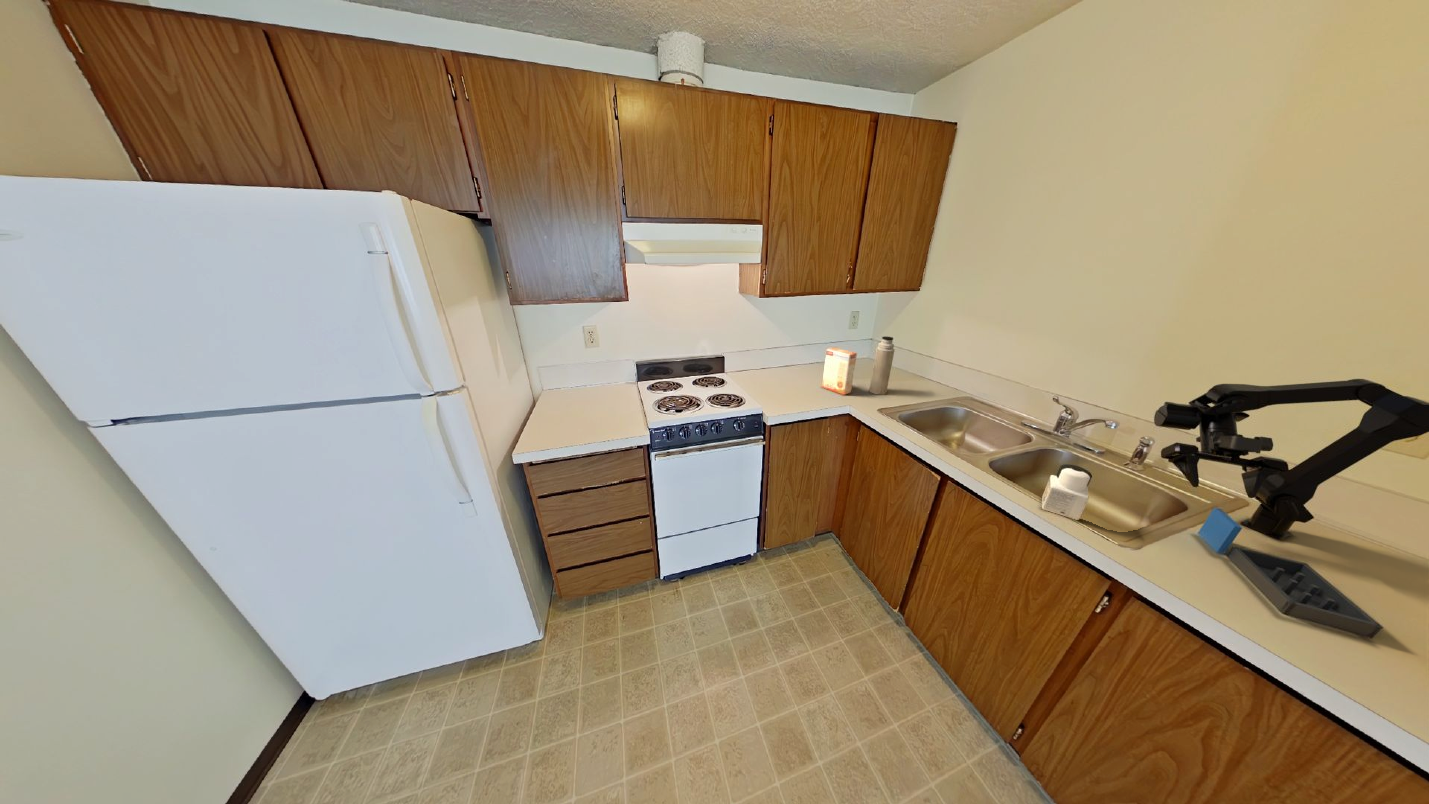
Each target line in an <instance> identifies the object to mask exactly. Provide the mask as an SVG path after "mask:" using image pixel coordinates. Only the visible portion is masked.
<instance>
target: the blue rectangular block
mask: <svg viewBox="0 0 1429 804" xmlns="http://www.w3.org/2000/svg"><path fill="white" fill-rule="evenodd" d="M1242 529H1243V527H1242V526H1241V525H1239V523H1237V522H1236V520H1234V519H1233V518H1232V516H1231V517H1230V516H1229V514H1227V513H1226V512H1225V511H1224V510H1223V509H1222V508H1219V507H1213V509H1212V510H1211V512H1210V513H1209V515H1208V516H1207V518H1206V520H1205V521H1204V523H1202V525H1201V527H1200V529H1199V530H1198V532H1197V534H1198V536H1199V537H1200V538H1201V539H1202V540H1203V541H1204V542H1205V543H1206V544H1207V545H1208V546H1209V547H1210V549H1212V550H1213V551H1214V552H1215V554H1218V555H1225V553H1226V552H1227V551H1228V549H1229V548H1230V546H1231V545H1232V544H1233V542H1234V540H1235V539H1236V538H1237V536H1238V535H1239V533H1240V532H1241V531H1242Z"/></svg>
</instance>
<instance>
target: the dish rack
mask: <svg viewBox="0 0 1429 804" xmlns="http://www.w3.org/2000/svg"><path fill="white" fill-rule="evenodd" d="M1225 557H1226V558H1227V559H1228V560H1229V561H1230V562H1231V563H1232V564H1233V565H1234V566H1235V568H1237V569H1238V570H1239V571H1240V572H1241V573H1242V575H1244V576H1245V578H1246V579H1248V581H1250V582H1251V584H1252V585H1253V586H1254V587H1255V588H1256V589H1257V590H1258V591H1259V592H1260V593H1261V594H1262V595H1263V596H1264V597H1265V598H1266V599H1267V600H1268V601H1269V602H1270V603H1271V604H1272V606H1274V608H1276V610H1277V611H1279V613H1281V614H1282V615H1285V616H1289V617H1292V618H1296V619H1299V620H1303V621H1306V622H1309V623H1314V624H1317V625H1321V626H1325V627H1329V628H1331V629H1336V630H1340V631H1342V632H1347V633H1350V634H1354V635H1357V636H1361V637H1364V638H1368V639H1374V638H1375V637H1376V636H1377V635H1378V634H1379V633H1380V632H1381V631H1383V629H1384V627H1383V626H1382V625H1381V624H1380V623H1379V622H1377V620H1375V619H1374V618H1373V617H1371V615H1369V614H1368V613H1367V612H1365V611H1364V610H1363V609H1362V608H1361V607H1360V606H1358V605H1357V604H1356V603H1355V602H1353V601H1352V600H1351V599H1350V598H1349V597H1348V596H1347V595H1345V594H1344V593H1343V592H1342V591H1341V590H1339V589H1338V588H1337V587H1336V586H1335V585H1333V584H1332V582H1330V581H1328V580H1327V578H1325V577H1324V576H1322V574H1320V573H1319V572H1318V571H1317V570H1315V569H1314V568H1313V567H1312V566H1311V565H1309V564H1308V563H1307V562H1303V561H1299V560H1298V561H1297V560H1294V559H1290V558H1287V557H1282V556H1277V555H1273V554H1268V553H1264V552H1261V551H1256V550H1251V549H1248V548H1244V547H1239V546H1235V545H1232V546H1231V548H1230V549H1229V551H1227V554H1226V555H1225Z"/></svg>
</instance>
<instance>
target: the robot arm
mask: <svg viewBox="0 0 1429 804" xmlns="http://www.w3.org/2000/svg"><path fill="white" fill-rule="evenodd" d="M1348 401H1359V402H1360V403H1363V404H1365V405H1367V406H1369V407H1370V408H1369V409H1368V410H1366V411H1365V412H1364V413H1363V416H1362V417H1361V419H1360V422H1359V424H1358V426H1357V427H1356V428H1353V429H1351V431H1348V432H1347V433H1345V434H1344V435H1343V436H1341V437H1339V438H1338V439H1336V440H1334V441H1333V442H1332V443H1330V444H1328V445H1327V446H1325V447H1323V448H1322V449H1321V450H1319V451H1317V452H1316V453H1313V455H1311V456H1309V457H1308V458H1306V459H1305V460H1303V461H1301V462H1300V463H1298V464H1297V465H1295V466H1293V467H1292V468H1290V469H1289V463H1288V462H1287V461H1285V459H1284V460H1283V459H1281V458H1276V457H1270V456H1269V457H1268V456H1262V455H1260V456H1257V457H1253V458H1250V459H1249V458H1244V457H1245V456H1248V455H1249V454H1250V453H1255V454H1261V452H1271V451H1272V450H1273V449H1274V441H1273V438H1272V437H1267V436H1254V437H1253V438H1252V437H1245V436H1244V434H1238V426H1237V423H1239V422H1242V421H1244V420H1246V419H1247V418H1249V417H1250V416H1251V415H1250V414H1249V413H1247V412H1249V411H1250V412H1251V411H1257V410H1260V409H1264V408H1266V407H1269V406H1277V405H1290V404H1310V403H1311V404H1313V403H1328V402H1329V403H1331V402H1348ZM1209 404H1212V406H1211V405H1209ZM1153 422H1154V425H1155V426H1156V427H1159V428H1168V429H1177V430H1183V431H1191V430H1196V429H1197V427H1198V426H1199V427H1198V428H1199V436H1197V437H1196V438H1195V441H1196V443H1200V449H1199V447H1198V446H1197V445H1195V444H1189V443H1182V442H1174V443H1172V444H1170V445H1167V446H1165V447H1163V448H1162V449H1161V450H1160V458H1161V459H1164V460H1167V462H1168V463H1172V464H1173V465H1174V467H1176V468H1177V469H1178V470H1179V472H1181V473H1182V475H1183V476H1184V477H1185V478H1186V480H1187V481H1188V482H1189V484H1190V485H1191V486H1192V487H1193V488H1199V487H1200V477H1199V467H1198V464H1199V461H1200V460H1204V461H1209V462H1216V463H1221V464H1227V465H1232V466H1238V467H1241V470H1242V471H1243V472H1242V473H1240V475H1241V478H1242V482H1243V486H1244V490H1245V494H1246V495H1247V498H1248V499H1255V500H1256V501H1258V502H1259V503H1260V504H1259V505H1258V506H1257V508H1256V510H1255V511H1254V512H1253V513H1252V515H1251V516H1250V518H1248V519H1245V520H1241V521H1240V522H1239V524H1240V525H1242V526H1245V527H1247V528H1249V529H1251V530H1253V531H1256V532H1258V533H1260V534H1263V535H1265V536H1268V537H1270V538H1273V539H1275V540H1277V541H1281V540H1283V539H1286V538H1288V537H1291V536H1293V533H1292V532H1290V531H1289V530H1290V529H1291V527H1292V526H1294V524H1295V522H1298V523H1303V524H1306V523H1308V522H1310V521H1312V520H1314V518H1315V516H1314V515H1313V514H1312V513H1311V512H1310V511H1309V509H1307V507H1306V506H1305V505H1306V504H1307V503H1308V502H1309V501H1311V500H1312V499H1313V498H1314V496H1315V494H1316V492H1317V489H1318V487H1319V486H1320V485H1321V484H1323V483H1325V482H1326V481H1329V480H1330V479H1331V478H1334V477H1335V476H1336V475H1338V474H1340V473H1342V472H1343V471H1345V470H1347V469H1349V468H1350V467H1352V466H1354V465H1355V464H1358V463H1359V462H1360V461H1362V460H1364V459H1366V458H1367V457H1369V456H1371V455H1372V454H1375V452H1377V451H1379V450H1380V449H1383V448H1384V447H1386V446H1387V445H1389V444H1391V443H1394V442H1396V441H1400V440H1406V439H1410V438H1416V437H1420V436H1422V435H1425V434H1427V433H1429V402H1428V401H1425V400H1422V399H1419V398H1417V397H1412V396H1408V395H1403V394H1400V393H1398V392H1396V391H1394V390H1392V389H1389V388H1387V386H1385V385H1384V384H1382V383H1378V382H1375V381H1372V380H1368V379H1365V378H1351V379H1348V380H1337V381H1336V380H1334V381H1321V382H1309V383H1294V384H1281V385H1280V384H1279V385H1255V384H1246V383H1219V384H1215V385H1213V386H1212V387H1211V388H1210V389H1208V391H1206V392H1205V393H1203V394H1202V395H1199V396H1198V397H1196V398H1193V399H1192V400H1190V401H1189V402H1188V404H1186V403H1178V402H1177V403H1176V402H1173V401H1164V403H1163V405H1161V406H1160V407H1159V408H1158V409H1157V410H1156V411H1155V413H1154V416H1153ZM1241 456H1243V457H1241Z"/></svg>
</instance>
